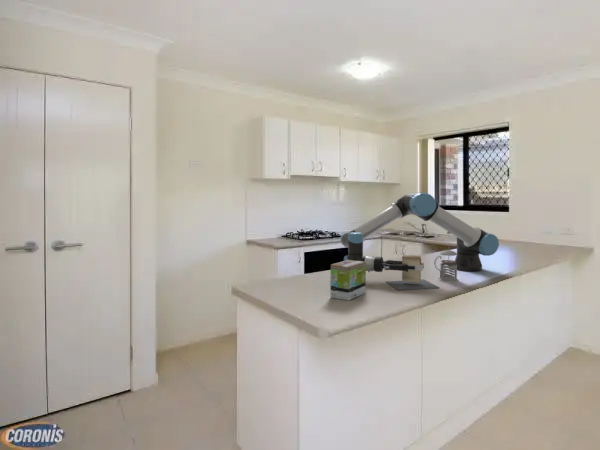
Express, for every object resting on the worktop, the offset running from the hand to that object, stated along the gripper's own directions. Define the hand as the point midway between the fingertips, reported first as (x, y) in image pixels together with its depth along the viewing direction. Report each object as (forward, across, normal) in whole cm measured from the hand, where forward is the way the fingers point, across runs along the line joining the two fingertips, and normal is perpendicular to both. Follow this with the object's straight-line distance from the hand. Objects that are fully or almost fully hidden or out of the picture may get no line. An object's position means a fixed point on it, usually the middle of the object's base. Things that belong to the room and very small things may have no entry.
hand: (423, 266), depth 173 cm
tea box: (-29, +26, -10) cm, 41 cm away
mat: (-5, 0, -9) cm, 11 cm away
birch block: (-5, 0, -7) cm, 9 cm away
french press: (+10, -16, -10) cm, 21 cm away
